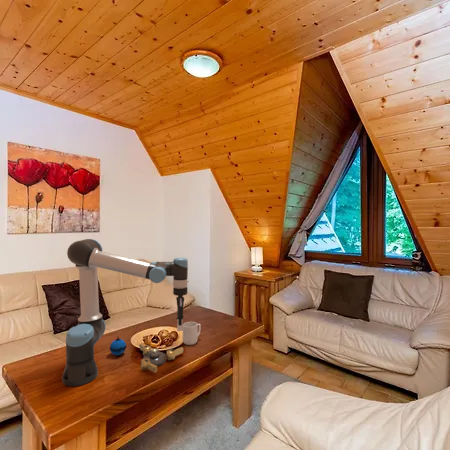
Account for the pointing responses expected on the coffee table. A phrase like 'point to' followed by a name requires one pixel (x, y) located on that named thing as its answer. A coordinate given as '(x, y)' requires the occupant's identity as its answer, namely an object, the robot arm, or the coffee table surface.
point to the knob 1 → (145, 349)
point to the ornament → (117, 346)
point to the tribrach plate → (157, 361)
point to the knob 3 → (174, 353)
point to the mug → (190, 332)
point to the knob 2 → (148, 365)
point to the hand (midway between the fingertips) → (179, 330)
